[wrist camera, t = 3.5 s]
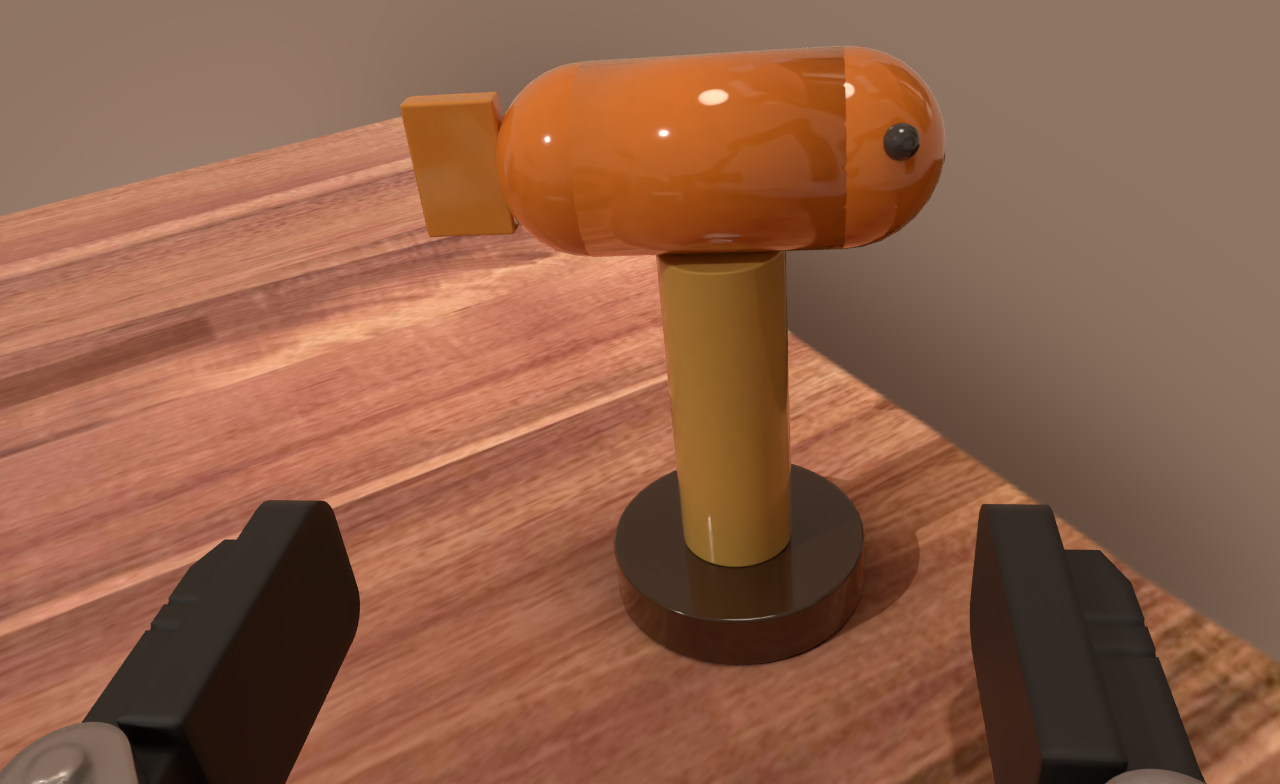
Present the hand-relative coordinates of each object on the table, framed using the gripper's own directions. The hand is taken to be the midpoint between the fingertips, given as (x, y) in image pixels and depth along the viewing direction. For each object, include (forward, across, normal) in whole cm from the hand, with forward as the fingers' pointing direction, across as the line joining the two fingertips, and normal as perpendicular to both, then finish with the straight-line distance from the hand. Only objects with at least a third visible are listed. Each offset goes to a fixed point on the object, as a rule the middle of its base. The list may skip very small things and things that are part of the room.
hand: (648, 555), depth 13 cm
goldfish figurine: (+11, 0, -11) cm, 15 cm away
